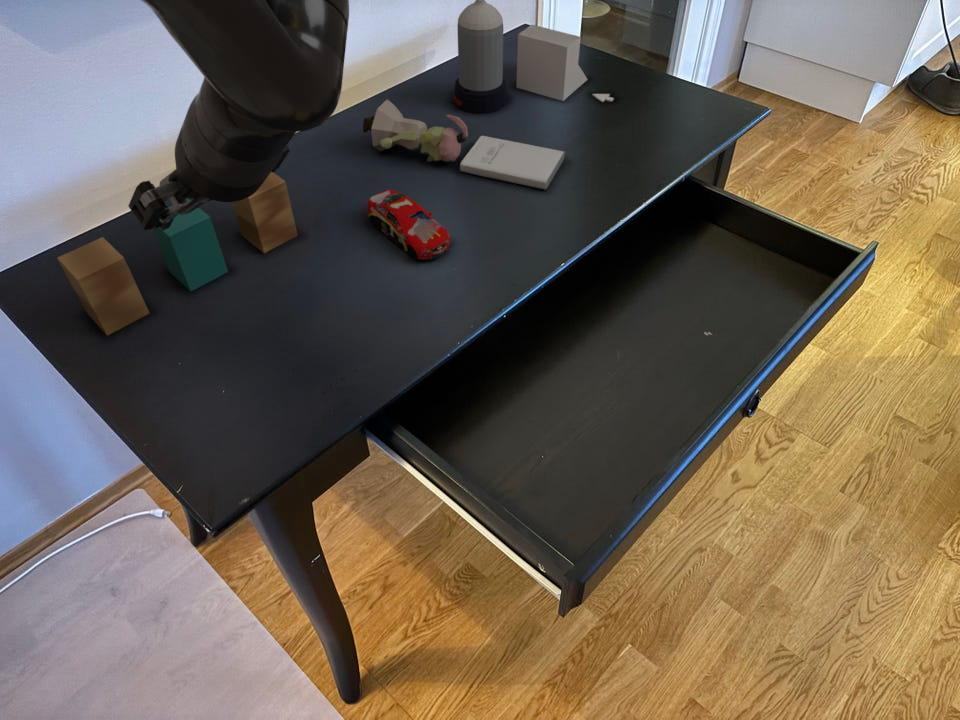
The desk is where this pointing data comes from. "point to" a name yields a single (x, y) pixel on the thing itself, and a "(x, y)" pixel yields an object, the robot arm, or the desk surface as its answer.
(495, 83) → the humidifier
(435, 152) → the figurine
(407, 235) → the race car
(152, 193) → the robot arm
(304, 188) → the desk surface
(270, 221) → the block right
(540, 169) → the hard drive
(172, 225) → the teal block
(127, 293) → the block left
